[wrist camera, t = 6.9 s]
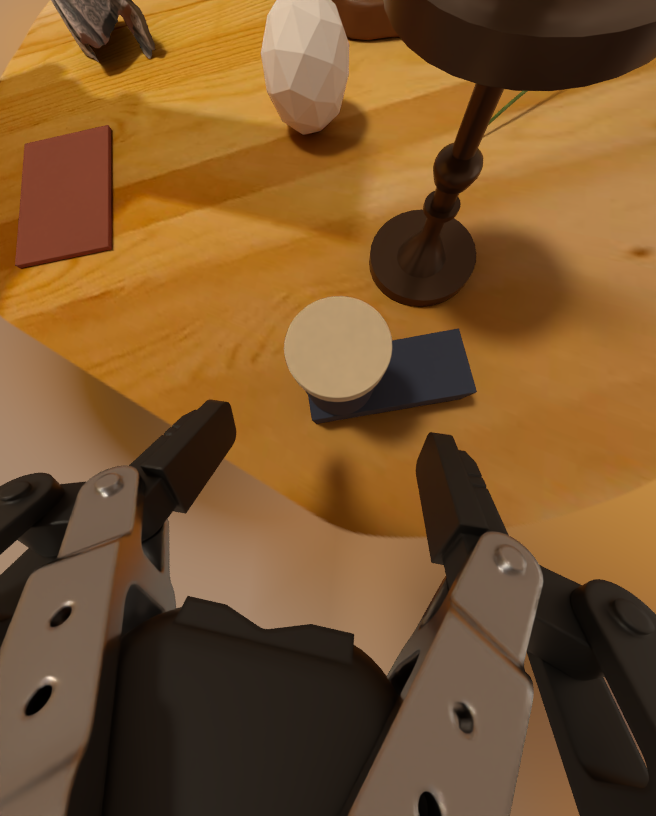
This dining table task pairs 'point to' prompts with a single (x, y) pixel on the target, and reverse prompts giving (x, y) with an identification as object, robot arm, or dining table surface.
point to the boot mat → (65, 197)
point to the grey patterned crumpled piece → (103, 22)
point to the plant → (364, 19)
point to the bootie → (370, 362)
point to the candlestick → (493, 108)
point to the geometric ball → (305, 62)
